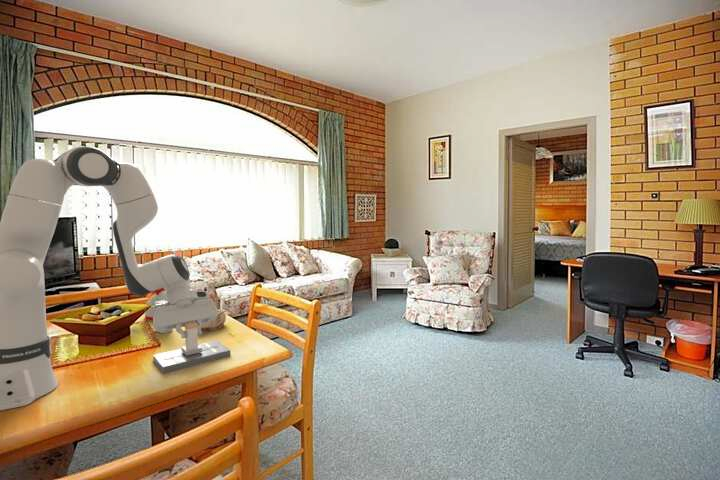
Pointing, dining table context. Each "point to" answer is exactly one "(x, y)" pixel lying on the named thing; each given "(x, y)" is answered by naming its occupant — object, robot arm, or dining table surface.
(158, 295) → the kitchen timer
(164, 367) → the fader console
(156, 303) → the skincare box
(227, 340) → the dining table surface
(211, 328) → the trinket box
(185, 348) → the fader knob
